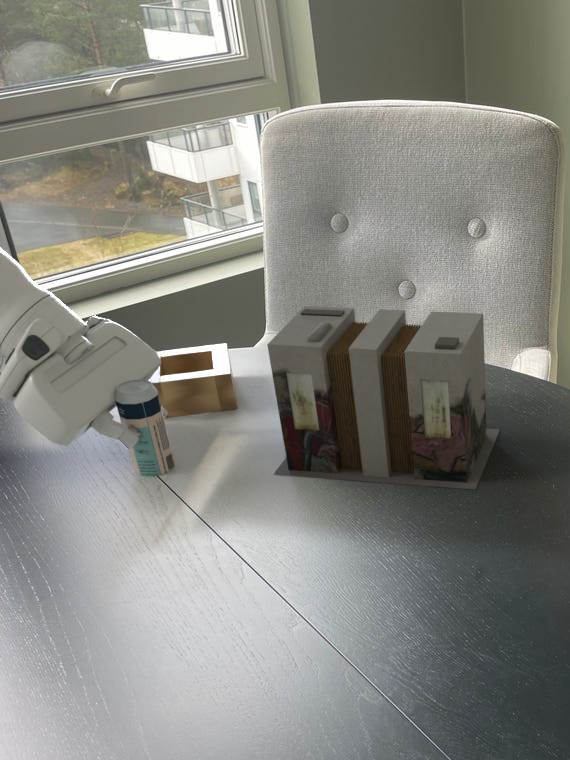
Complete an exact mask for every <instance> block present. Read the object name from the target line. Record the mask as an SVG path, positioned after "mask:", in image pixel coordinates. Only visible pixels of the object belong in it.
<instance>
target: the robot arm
mask: <svg viewBox="0 0 570 760" xmlns="http://www.w3.org/2000/svg"><path fill="white" fill-rule="evenodd" d="M157 352H158V351H156V350H155V349H153V347H151V346H150V345H149V344H147V343H146V342H145V341H143V340H142V339H141V338H140V337H139V336H137V335H136V334H134V332H132V331H130V330H129V329H127V327H124V326H123V325H121V324H119V323H117V322H115V321H112V320H111V319H109V318H103V317H98V316H96V315H94V316H90V317H88V318H87V319H86V320H85V321H84V320H82V319H81V317H79V316H78V315H77V314H76V313H75V312H74V311H73V310H71V309H70V308H69V306H67V305H66V304H65V303H64V302H62V301H61V300H60V299H59V298H58V297H57V296H55V295H54V293H52V292H50V291H49V290H47V289H45V288H43V287H41V286H40V285H38V284H37V283H36V282H35V281H33V279H31V277H30V276H29V275H28V274H27V272H26V270H25V269H24V268H23V266H22V265H21V263H20V260H19V256H18V253H17V250H16V246H15V244H14V240H13V237H12V233H11V231H10V227H9V223H8V220H7V217H6V213H5V211H4V207H3V204H2V200H1V199H0V399H2V400H3V401H5V402H9V403H10V402H12V401H13V406H14V408H15V410H16V412H17V413H18V414H19V415H20V416H21V418H23V419H24V420H25V421H26V422H27V423H28V424H29V425H30V426H32V427H33V428H34V429H35V430H36V431H37V432H39V433H40V435H42V436H43V437H44V438H45V439H47V440H48V441H50V442H51V443H53V444H55V445H59V446H63V447H69V446H70V445H71V444H72V443H74V442H75V441H76V440H78V439H79V438H80V437H82V436H83V434H85V433H86V432H87V431H89V430H90V429H91V428H93V429H94V430H95V431H96V432H97V433H99V435H103V436H106V437H108V438H112V439H115V440H118V441H120V442H121V443H122V444H123V445H124V446H126V448H127V449H128V448H133V447H134V446H135V445H136V444H137V443H138V442H139V441H140V440H141V439H142V437H143V435H142V433H141V432H140V431H138V430H137V429H136V428H135V427H134V426H133V425H132V424H131V425H130V426H129V427H127V426H125V425H123V424H121V422H118V421H117V420H115V419H114V418H115V416H114V415H113V414H112V413H111V411H113V410H114V409H115V408H117V406H116V402H115V400H116V389H117V386H119V385H120V384H122V383H124V382H127V381H131V380H147V381H148V380H149V379H150V378H151V377H152V376H153V374H154V373H155V372H156V371H157V369H158V368H159V366H160V365H161V360H160V357H159V355H158V354H157ZM161 408H162V412H163V416H164V420H165V419H166V418H165V417H166V416H167V415H168V412H167V410H166V409H165V408H164V407H162V406H161Z"/></svg>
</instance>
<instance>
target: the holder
mask: <svg viewBox="0 0 570 760" xmlns="http://www.w3.org/2000/svg"><path fill="white" fill-rule="evenodd" d="M156 352H157V354H158V355H159V357H160V360H161V365H160V366H159V368H158V369H157V371H156V372H155V373H154V374H153V376H152V377H151V378H150V379H149V380H148V381H149V382H151V383H152V384H153V386H154V387H155V388H156V389H157V391H158V396H159V400H160V404H161V406H162V407H164V408H165V409H166V410H167V412H168V415H167V416H166V417H165V419H166V418H174V417H182V416H190V415H198V414H206V413H213V412H221V411H228V410H234V409H238V401H237V395H236V387H235V381H234V373H233V368H232V363H231V358H230V355H229V349H228V343H227V342H226V343H217V344H208V345H202V346H193V347H184V348H176V349H175V348H174V349H168V350H161V351H160V350H159V351H156Z"/></svg>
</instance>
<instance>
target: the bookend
mask: <svg viewBox="0 0 570 760" xmlns="http://www.w3.org/2000/svg"><path fill="white" fill-rule="evenodd" d="M355 314H356V313H355V308H353V307H335V306H334V307H333V306H310V305H308V306H307V305H304V306H303V307H302V308H301V309H300V310H299V311H298V312H297V313H296V314H295V315H294V316H293V317H292V318H291V319H290V320H289V321H288V322H287V324H285V325H284V326H283V328H281V330H280V331H279V332H278V333H276V335H274V337H272V339H271V340H270V341H269V342H268V343H267V352H268V357H269V364H270V369H271V375H272V381H273V385H274V391H275V393H274V394H275V398H276V404H277V410H278V416H279V422H280V429H281V434H282V440H283V446H284V452H285V457H284V460H283V461H282V462H281V464H279V466H278V467H277V469H276V470H275V472H273V475H274V476H275V475H276V476H287V477H288V476H289V477H301V478H302V477H303V478H314V479H316V478H317V479H327V480H328V479H330V480H340V481H341V480H342V481H353V482H354V481H355V482H368V483H382V484H395V485H396V484H397V485H409V486H423V487H434V488H435V487H436V488H448V489H462V490H475V491H476V489H477V487H478V484H479V482H480V480H481V478H482V475H483V473H484V470H485V468H486V465H487V463H488V460H489V458H490V455H491V453H492V450H493V448H494V446H495V444H496V441H497V438H498V435H499V433H500V431H501V429H500V428H487V405H486V403H487V402H486V401H487V400H486V367H485V366H486V365H485V363H486V362H485V360H486V359H485V330H484V313H475V312H453V311H452V312H451V311H430V313H429V314H428V316H427V317H426V318H425V320H424V321H423V323H422V324H408V323H407V319H406V310H405V309H384V308H383V309H381V308H380V309H378V310H377V312H376V313H375V314H374V316H373V317H372V318H371V320H370V321H369V322H366V321H365V322H362V321H356V315H355Z"/></svg>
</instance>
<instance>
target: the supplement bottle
mask: <svg viewBox="0 0 570 760" xmlns="http://www.w3.org/2000/svg"><path fill="white" fill-rule="evenodd" d="M115 402H116V409H117V412H118V416H119V420H120V423H121V424H123V425H125V426H127V427H129V426H130V425H131V424H132V425H133V426H134V427H135V428H136V429H137V430H138V431H140V432H141V433H142V435H143V437H142V439H141V440H140V441H139V442H138V443H137V444H136V445H135V446H134V447H133V448H128V447H127V449H128V452H129V455H130V460H131V463H132V467H133V471H134V473H135V474H137V475H139V476H140V477H157V476H162V475H164V474H167V473H169V472H170V471H172V470H173V469H174V468H175V466H176V462H175V461H176V460H175V457H174V453H173V449H172V445H171V440H170V437H169V432H168V429H167V425H166V420H165V419H164V416H163V412H162V408H161V404H160V400H159V396H158V391H157V389H156V388H155V387H154V386H153V384H152V383H151V382H149V381H147V380H131V381H127V382H124V383H122V384H120V385H119V386H117V389H116V400H115Z"/></svg>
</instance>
